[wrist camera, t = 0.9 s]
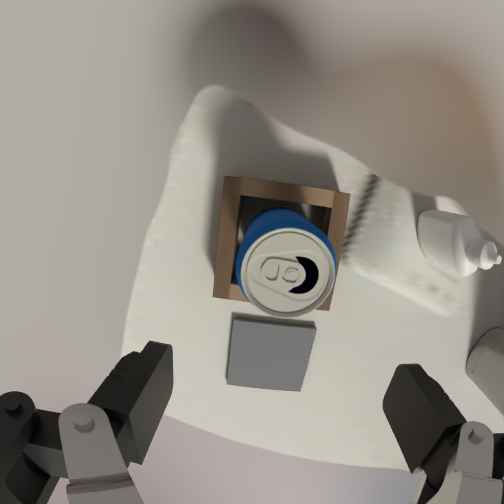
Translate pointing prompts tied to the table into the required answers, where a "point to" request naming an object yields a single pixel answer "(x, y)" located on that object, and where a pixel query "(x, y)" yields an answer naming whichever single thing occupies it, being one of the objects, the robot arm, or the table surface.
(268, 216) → the beverage can
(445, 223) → the eye dropper bottle
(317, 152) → the table surface
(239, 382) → the rubber mat
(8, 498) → the robot arm
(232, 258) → the walnut collar
